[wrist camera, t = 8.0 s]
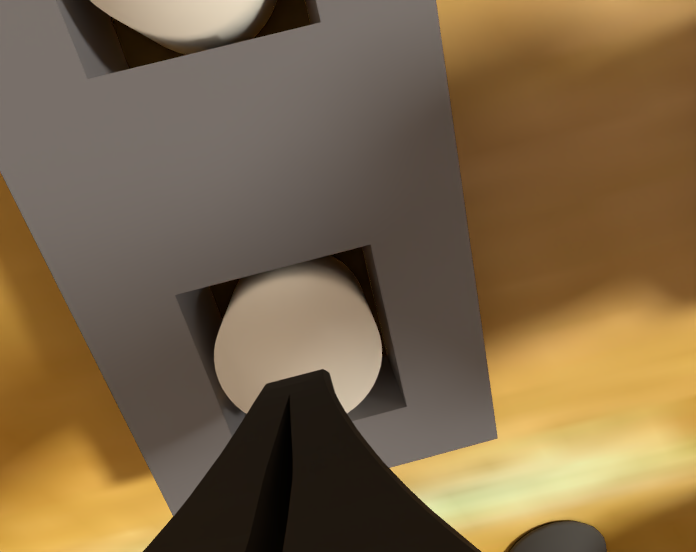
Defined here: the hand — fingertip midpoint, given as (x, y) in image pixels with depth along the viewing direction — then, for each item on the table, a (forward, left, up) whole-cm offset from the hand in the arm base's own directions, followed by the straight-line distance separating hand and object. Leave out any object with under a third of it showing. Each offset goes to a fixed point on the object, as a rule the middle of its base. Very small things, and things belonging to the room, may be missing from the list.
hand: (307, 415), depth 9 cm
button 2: (0, 0, -6) cm, 6 cm away
